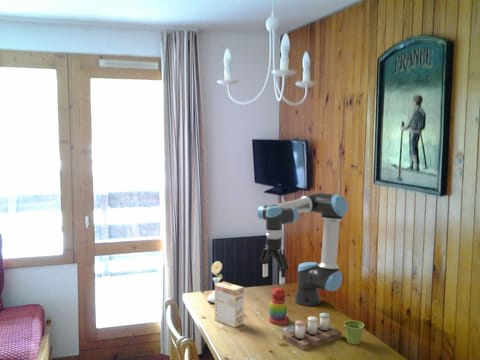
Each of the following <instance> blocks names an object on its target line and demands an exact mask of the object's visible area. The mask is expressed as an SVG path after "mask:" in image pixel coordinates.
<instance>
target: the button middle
mask: <svg viewBox="0 0 480 360" xmlns="http://www.w3.org/2000/svg"><path fill="white" fill-rule="evenodd" d="M318 319H319V318H318V317H317V316H308V317H307V327H308V333H310V334H312V335H313V334H316V333H317V323H318Z"/></svg>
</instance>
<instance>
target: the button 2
mask: <svg viewBox="0 0 480 360" xmlns="http://www.w3.org/2000/svg"><path fill="white" fill-rule="evenodd" d="M330 315H331V314H330V313H327V312H320V313H319V323H320V329H322V330H328V329H329V326H330Z"/></svg>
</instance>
